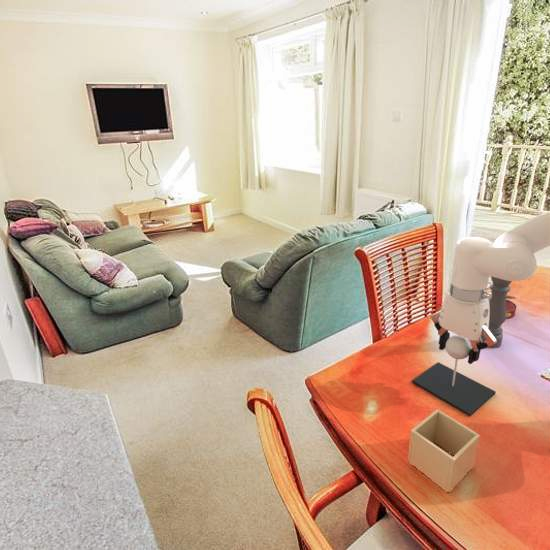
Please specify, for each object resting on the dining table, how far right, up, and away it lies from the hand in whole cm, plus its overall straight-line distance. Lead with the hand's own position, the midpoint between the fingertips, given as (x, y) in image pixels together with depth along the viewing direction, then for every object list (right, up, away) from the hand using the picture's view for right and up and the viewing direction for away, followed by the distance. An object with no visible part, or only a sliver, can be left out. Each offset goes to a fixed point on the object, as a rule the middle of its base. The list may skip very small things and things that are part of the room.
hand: (457, 354), depth 94 cm
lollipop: (+1, -9, +4) cm, 10 cm away
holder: (-11, -20, -16) cm, 28 cm away
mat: (+1, -10, +4) cm, 11 cm away
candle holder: (+20, -1, +21) cm, 29 cm away
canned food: (+32, +7, +37) cm, 50 cm away
